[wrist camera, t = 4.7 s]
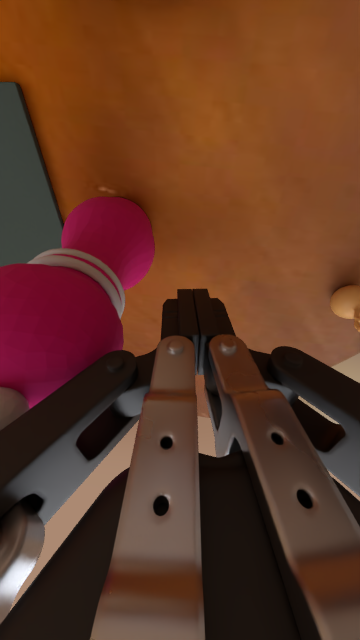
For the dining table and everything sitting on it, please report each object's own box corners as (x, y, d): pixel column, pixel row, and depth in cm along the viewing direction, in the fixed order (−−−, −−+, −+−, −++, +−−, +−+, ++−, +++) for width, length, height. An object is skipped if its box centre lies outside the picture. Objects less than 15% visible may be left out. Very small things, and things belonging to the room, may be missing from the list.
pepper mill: (148, 273, 24) (103, 499, 8) (82, 255, 22) (-137, 490, 6) (165, 206, 20) (139, 396, 4) (85, 178, 18) (-525, 299, 2)
